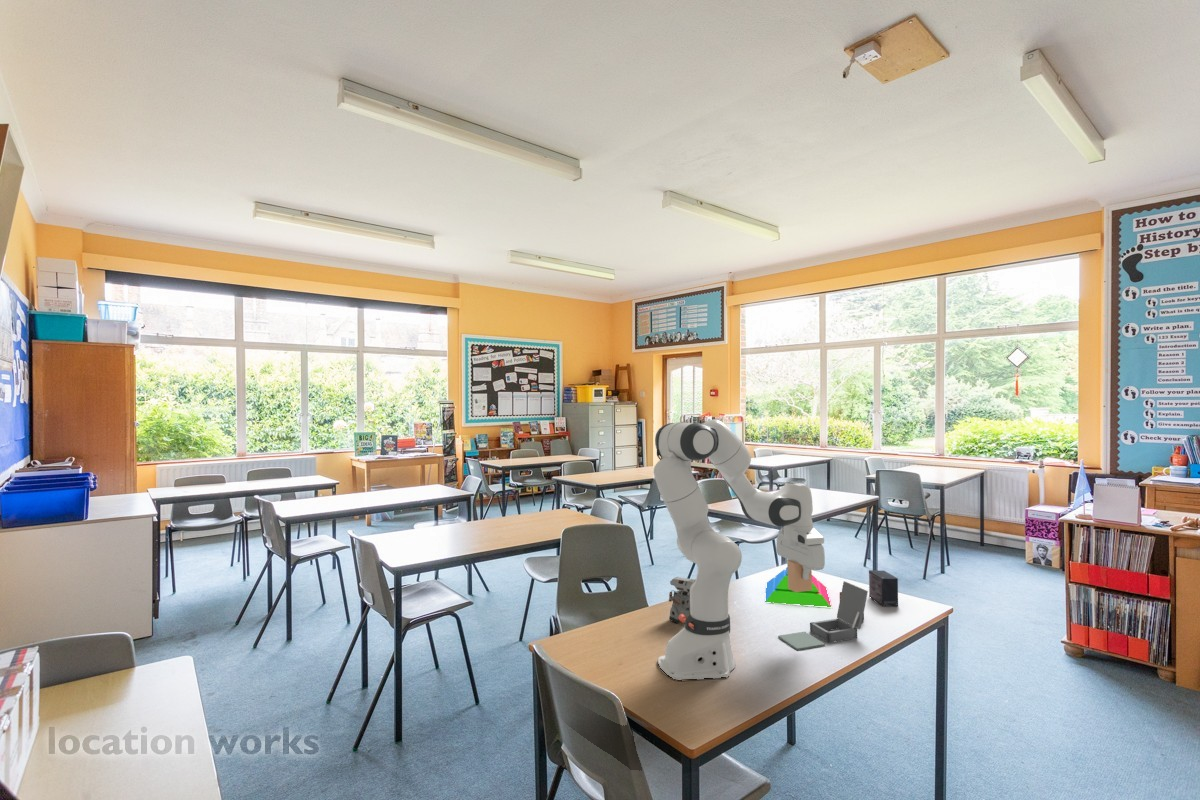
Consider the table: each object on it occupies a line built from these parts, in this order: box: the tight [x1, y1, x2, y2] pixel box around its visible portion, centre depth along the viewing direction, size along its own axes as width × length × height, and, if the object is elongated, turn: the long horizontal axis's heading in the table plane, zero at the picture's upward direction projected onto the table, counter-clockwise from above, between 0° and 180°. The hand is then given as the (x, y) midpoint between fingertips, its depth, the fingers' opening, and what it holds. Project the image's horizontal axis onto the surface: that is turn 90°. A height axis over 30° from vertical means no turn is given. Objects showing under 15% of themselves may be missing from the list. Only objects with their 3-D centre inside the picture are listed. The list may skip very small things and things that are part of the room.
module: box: [786, 559, 813, 592], centre depth 176 cm, size 6×4×9 cm, turn 106°
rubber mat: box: [777, 631, 826, 651], centre depth 176 cm, size 10×10×1 cm
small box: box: [868, 569, 899, 607], centre depth 209 cm, size 11×6×10 cm, turn 179°
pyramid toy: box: [764, 567, 832, 607], centre depth 218 cm, size 25×25×14 cm
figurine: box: [668, 576, 696, 624], centre depth 194 cm, size 9×12×15 cm
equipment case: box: [809, 580, 869, 643], centre depth 181 cm, size 15×10×15 cm, turn 106°
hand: (799, 576), depth 176 cm, fingers closed on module, 4 cm apart
